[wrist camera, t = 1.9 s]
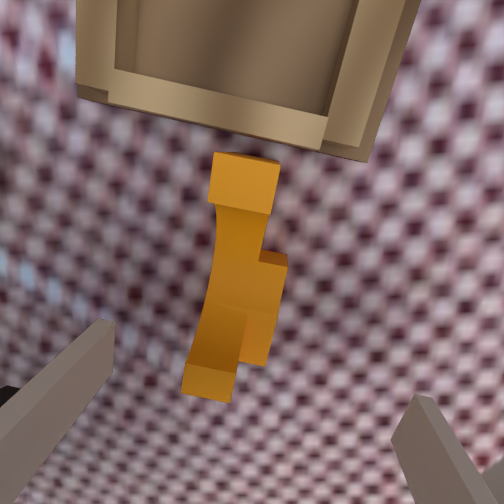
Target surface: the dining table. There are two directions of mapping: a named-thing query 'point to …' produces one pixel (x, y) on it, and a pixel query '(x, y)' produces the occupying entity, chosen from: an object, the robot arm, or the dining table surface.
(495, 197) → the dining table surface
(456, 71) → the dining table surface
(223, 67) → the tray
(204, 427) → the dining table surface
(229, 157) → the orange stepped block
